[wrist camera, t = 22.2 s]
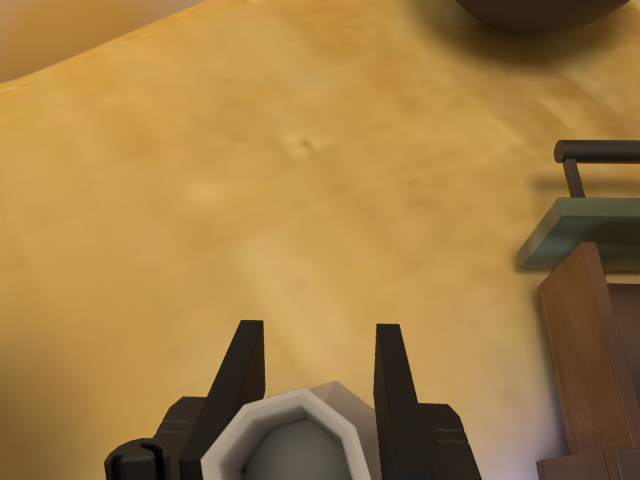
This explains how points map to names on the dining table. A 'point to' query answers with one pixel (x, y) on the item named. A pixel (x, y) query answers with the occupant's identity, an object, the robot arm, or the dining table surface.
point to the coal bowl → (539, 13)
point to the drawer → (591, 301)
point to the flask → (298, 439)
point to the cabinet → (593, 465)
